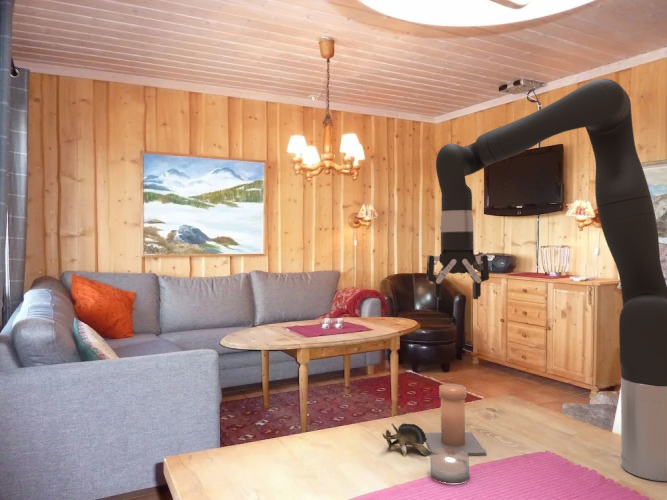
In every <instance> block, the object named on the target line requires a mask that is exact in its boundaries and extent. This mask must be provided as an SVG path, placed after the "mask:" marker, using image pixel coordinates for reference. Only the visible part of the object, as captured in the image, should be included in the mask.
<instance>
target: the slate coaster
mask: <svg viewBox="0 0 667 500" xmlns="http://www.w3.org/2000/svg"><path fill="white" fill-rule="evenodd" d="M424 434H425V435H426V436H425V437H426V438H427V440H426V442H425V444H426V445H427V449H428V450H429V451H430V452H431V451H432V450H434V449H437V448H443V447H448V448H456V449H460V450H462V451H464V452H466V453H467V454H468V455H469V457H472V456H474V457H476V456H477V457H479V456H480V457H481V456H482V457H484V456H485V457H486V456H487V452H486V450H485V448H484V447H483V446H482V444H481V443H480V442H479V440H478V439H477V438H476V437H475V435H474V434H473V432H472V431H471V432H470V431H469V432H467V431H465V444H464V445H463V446H459V447H452V446H447V445H445V444H443V443H442V442H441V432H424Z"/></svg>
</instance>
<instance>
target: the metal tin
mask: <svg viewBox="0 0 667 500" xmlns="http://www.w3.org/2000/svg"><path fill="white" fill-rule="evenodd" d="M430 477H431V479H433V480H434V479H435V480H437V481H441V482H446V483H462V482H465V481H467V480H468V479H469V480H470V456H469V455H468V454H467V453H466V452H464V451H462V450H460V449H456V448H448V447H443V448H437V449H434V450H432V451H431V453H430ZM435 480H434V481H435ZM469 480H468V481H469ZM437 481H436V482H437ZM468 481H467V482H468Z"/></svg>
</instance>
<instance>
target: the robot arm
mask: <svg viewBox="0 0 667 500" xmlns="http://www.w3.org/2000/svg"><path fill="white" fill-rule="evenodd" d="M631 104H632V103H631V100H630V96H629V94H628V93H627V92H626V90H625V89H624V88H623V87H622V86H621V85H620V84H619V83H618V82H617V81H615V80H613V79H610V78H598V79H597V78H596V79H594V80H591V81H588V82H586V83H585V84H582V85H581V86H580V87H578V88H576V89H574V90H572V91H571V92H568V94H566V95H564V96H563V97H561V98H559V99H558V100H556V101H553V102H552V103H550V104H548V105H546V106H544V107H542V108H540V109H538V110H537V111H534V112H532V113H530V114H527V115H525V116H524V117H521V118H519V119H516V120H514V121H511V122H509V123H507V124H504V125H501V126H499V127H496V128H494V129H492V130H489V131H487V132H484V133H482V134H481V135H479V136H478V137H477V138H476V140H475V141H474V142H473V143H471V144H467V145H465V146H461V144H460V145H459V144H456V143H447V144H445V145H443V146H442V147H441V148H440V149H439V151H438V153H437V155H436V160H435V169H436V176H437V180H438V185H439V188H440V192H441V215H440V226H439V230H440V254H439V255H438V256H437V255H435V256H434V255H428V256H427V258H426V275H425V276H426V277H425V278H426V280H427V281H429V282H432V283H433V287H434V288H433V291H434V293H433V294H434V297H436V300H442V298H443V296H442V295H443V291H442V289H443V285H442V281H443V280H444V279H445V278H446V277H447V276H448V274H451V275H452V274H455V275H456V274H463V275H464V274H467V276H469V277H470V278H471V280H472V299H473V300H479V298H480V297H481V294H482V293H481V292H482V290H481V289H482V288H481V287H482V286H481V285H482V283H483V282H486V281H488V280H489V279H490V273H489V271H490V269H489V258H488V255H486V254H479V255H475V253H474V251H475V250H474V249H475V248H474V241H475V240H474V216H473V192H472V189H471V188H470V186H468V185H467V183H466V176H471V175H473V174H475V173H477V172H479V171H481V170H482V169H484V168H486V167H488V166H489V165H491V164H493V163H497V162H500V161H503V160H506V159H509V158H511V157H514V156H517V155H519V154H521V153H524V152H526V151H528V150H529V149H532V148H533V147H535V146H536V145H538V144H539V143H542V142H543V141H545V140H547V139H550V138H551V137H554V136H557V135H560V134H562V133H564V132H568V131H572V130H578V129H582V128H585V130H586V132H587V133H586V134H587V135H588V138H589V140H590V144H591V147H592V148H591V149H592V151H593V155H594V161H595V180H594V188H595V189H594V191H595V192H594V193H595V203H596V208H597V212H598V218H599V223H600V226H601V230H602V232H603V233H602V234H603V236H604V239H605V242H606V244H607V248H608V249H609V253H610V255H611V256H612V258H613V261H614V263H615V266H616V268H617V271H618V276H619V282H620V289H621V290H620V291H621V298H622V308H621V310H620V314H619V318H618V319H619V323H618V325H619V326H618V327H619V330H618V338H619V341H618V342H619V365H620V418H621V419H620V425H621V426H620V427H621V428H620V429H621V431H620V435H621V436H620V440H621V441H620V446H621V447H620V448H621V453H620V458H621V467H622V468H623V470H625V471H626V472H628V473H630V474H631V475H634V476H636V477H639V478H642V479H647V480H651V481H657V482H667V281H666V278H665V276H664V271H663V268H662V263H661V256H660V241H659V240H660V239H659V231H658V224H657V218H656V212H655V209H654V203H653V199H652V195H651V191H650V188H649V185H648V181H647V178H646V174H645V171H644V169H643V166H642V163H641V161H640V158H639V154H638V152H637V148H636V143H635V142H636V141H635V135H634V127H633V118H632V117H633V116H632V105H631ZM438 262H439V263H440V264H441V265H442V267H441V269H440V270H439V271H438V273H437V275H436V276H434V271H435V265H437V263H438ZM475 262H477V264H478V265H479V267H480V268H479V269H480V270H479V271H480V275H479V274H478V273H477V272H476V270H475V269H474V267H473V265H474V263H475Z"/></svg>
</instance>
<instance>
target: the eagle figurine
mask: <svg viewBox="0 0 667 500" xmlns="http://www.w3.org/2000/svg"><path fill="white" fill-rule="evenodd" d="M391 427H393V430H394V431H395V432H396V433H395V434H393V435H392V432H390V430H389V429H385V430H386V431H385V434H384V433H381V434H382V435H381V436H383V438H384V439H385V440H386V442H387V444H388V449H389V450H391V449H392V447H394V446H395V445H398V444H399V447H400V449H401V452H402V457H406V454H407V446H412V447H413V448H414V449H416V450H417V451H419V452H420V453H421V454H423V456H425V457H426V456H427V457H428V456H430V453H431V452H430V450H429V448H428V447H426V446H425V445H424V444H425V443H426V440H427V438H426V437H425V436H426V435H425V434H424V433H425V432H424V431H423V429H422V428H421V427H420V426H418V425H416V424H415V423H402V424H401V425H399V426H398V427H396V426H395V424H394V423H391ZM392 440H393V441H392Z"/></svg>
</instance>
